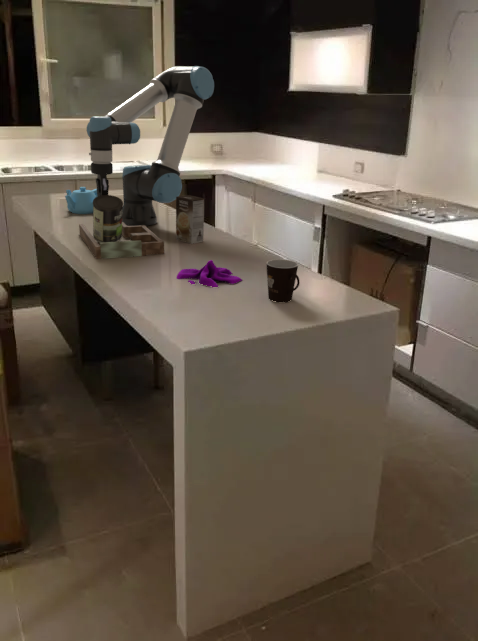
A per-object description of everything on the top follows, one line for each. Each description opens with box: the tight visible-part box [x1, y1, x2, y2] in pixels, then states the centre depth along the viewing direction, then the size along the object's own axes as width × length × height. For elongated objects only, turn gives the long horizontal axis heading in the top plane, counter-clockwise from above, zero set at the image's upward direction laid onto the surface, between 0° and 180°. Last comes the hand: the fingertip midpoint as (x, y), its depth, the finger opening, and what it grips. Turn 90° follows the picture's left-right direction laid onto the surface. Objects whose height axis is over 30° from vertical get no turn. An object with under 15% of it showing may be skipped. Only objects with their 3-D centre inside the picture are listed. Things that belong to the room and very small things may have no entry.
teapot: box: [64, 186, 97, 215], centre depth 271 cm, size 15×15×11 cm
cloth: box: [176, 259, 243, 288], centre depth 184 cm, size 22×19×6 cm
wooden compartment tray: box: [78, 222, 165, 260], centre depth 220 cm, size 23×36×5 cm, turn 22°
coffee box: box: [175, 194, 205, 245], centre depth 227 cm, size 9×6×16 cm
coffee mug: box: [265, 258, 300, 303], centre depth 167 cm, size 12×9×10 cm
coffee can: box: [92, 194, 124, 244], centre depth 219 cm, size 10×10×14 cm
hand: (103, 228), depth 227 cm, fingers closed
